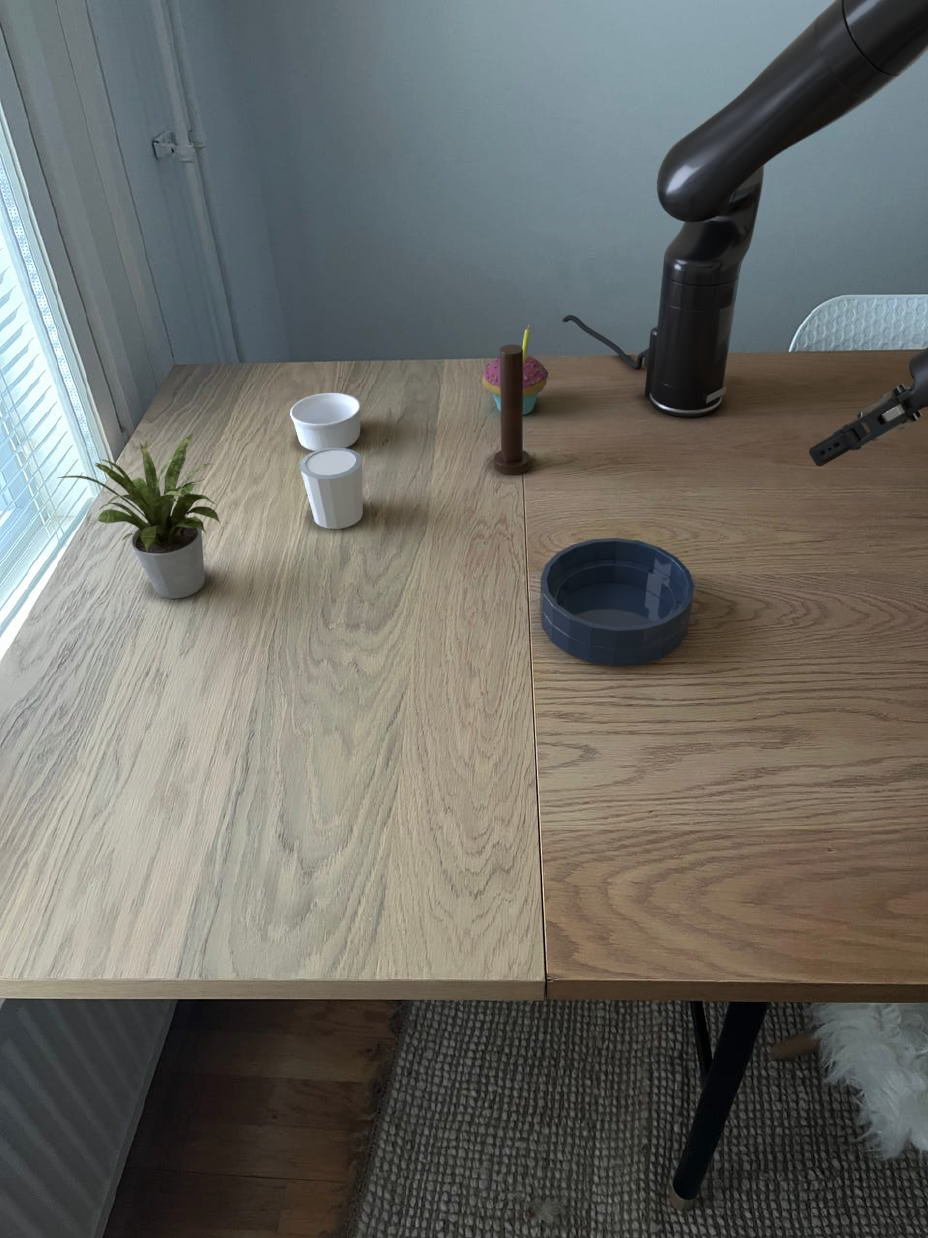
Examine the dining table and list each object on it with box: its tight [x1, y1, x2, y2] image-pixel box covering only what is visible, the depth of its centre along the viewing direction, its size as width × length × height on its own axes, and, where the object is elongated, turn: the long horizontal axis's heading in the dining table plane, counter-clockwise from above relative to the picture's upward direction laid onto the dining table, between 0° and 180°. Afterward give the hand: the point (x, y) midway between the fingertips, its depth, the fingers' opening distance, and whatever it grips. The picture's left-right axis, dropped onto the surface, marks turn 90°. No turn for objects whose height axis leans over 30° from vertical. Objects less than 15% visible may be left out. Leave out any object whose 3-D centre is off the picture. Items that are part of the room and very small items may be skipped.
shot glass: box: [299, 447, 364, 530], centre depth 106 cm, size 7×7×7 cm
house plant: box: [58, 432, 221, 600], centre depth 94 cm, size 14×14×16 cm
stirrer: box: [493, 343, 531, 476], centre depth 111 cm, size 4×4×15 cm
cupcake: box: [482, 323, 549, 416], centre depth 123 cm, size 9×8×12 cm
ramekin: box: [289, 392, 361, 452], centre depth 121 cm, size 9×9×4 cm
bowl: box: [539, 537, 696, 668], centre depth 91 cm, size 14×14×5 cm
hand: (825, 450), depth 102 cm, fingers open, 8 cm apart
